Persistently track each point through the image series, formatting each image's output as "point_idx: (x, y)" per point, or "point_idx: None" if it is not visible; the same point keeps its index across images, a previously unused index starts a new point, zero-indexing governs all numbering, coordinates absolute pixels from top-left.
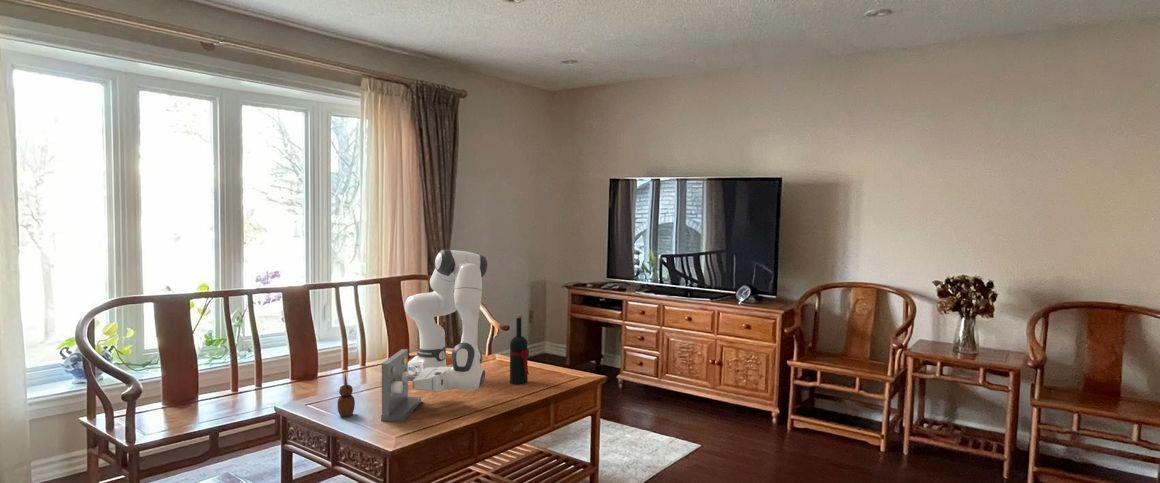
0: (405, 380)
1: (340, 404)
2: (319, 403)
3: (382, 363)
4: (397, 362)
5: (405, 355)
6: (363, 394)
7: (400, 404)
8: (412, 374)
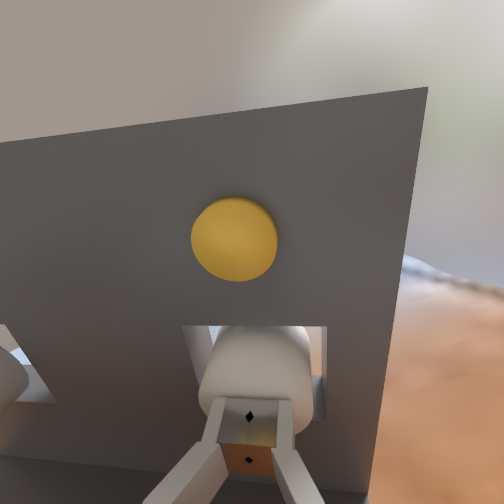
0: (205, 409)
1: None
2: None
3: None
4: (3, 212)
5: (300, 176)
6: (402, 291)
7: None
8: (290, 440)
